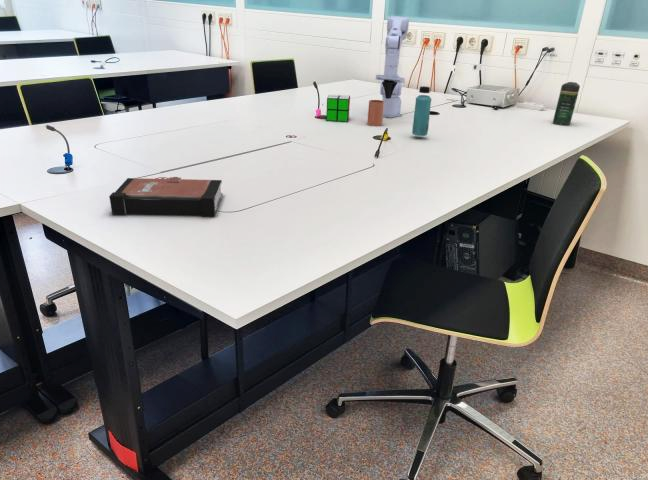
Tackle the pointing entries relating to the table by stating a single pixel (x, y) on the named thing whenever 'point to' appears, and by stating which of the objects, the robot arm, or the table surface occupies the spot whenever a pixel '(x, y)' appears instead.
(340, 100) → the puzzle cube
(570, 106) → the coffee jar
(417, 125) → the beverage bottle
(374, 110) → the cup
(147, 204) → the book
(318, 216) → the table surface
